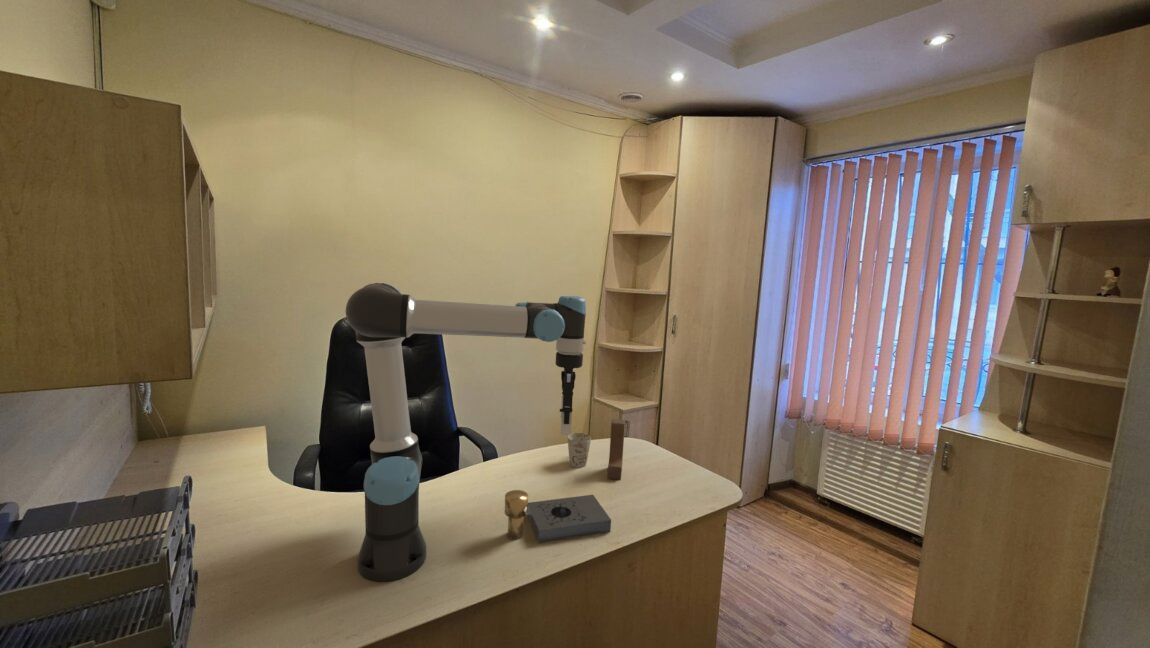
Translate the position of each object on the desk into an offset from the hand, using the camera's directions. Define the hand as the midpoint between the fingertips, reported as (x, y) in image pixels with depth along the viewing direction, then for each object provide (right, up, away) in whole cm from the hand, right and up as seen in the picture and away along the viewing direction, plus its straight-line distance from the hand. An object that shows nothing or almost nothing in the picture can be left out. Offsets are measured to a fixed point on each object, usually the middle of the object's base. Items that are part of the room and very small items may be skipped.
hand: (565, 425), depth 132 cm
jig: (+1, -26, -3) cm, 27 cm away
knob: (-13, -27, -9) cm, 31 cm away
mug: (+4, -21, +37) cm, 43 cm away
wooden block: (+16, -23, +29) cm, 40 cm away
